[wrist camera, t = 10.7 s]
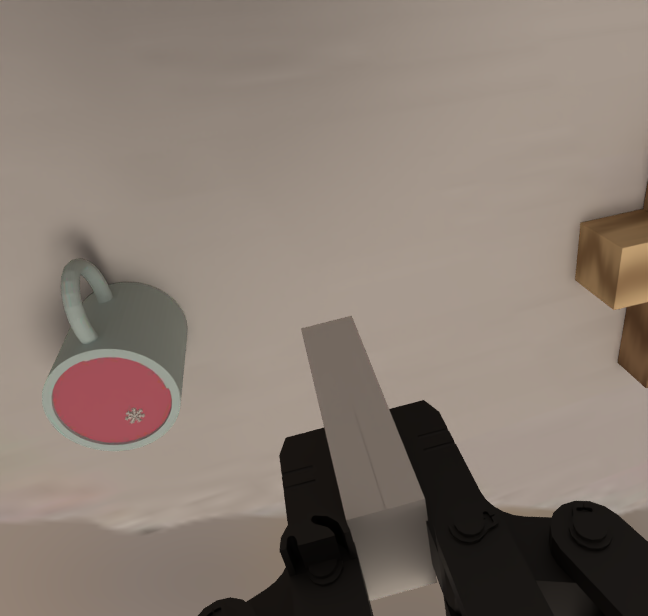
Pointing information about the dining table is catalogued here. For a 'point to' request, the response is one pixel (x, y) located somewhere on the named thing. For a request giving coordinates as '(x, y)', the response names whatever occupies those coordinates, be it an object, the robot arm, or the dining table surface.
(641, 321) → the board
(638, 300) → the block
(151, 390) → the mug
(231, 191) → the dining table surface
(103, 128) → the dining table surface
